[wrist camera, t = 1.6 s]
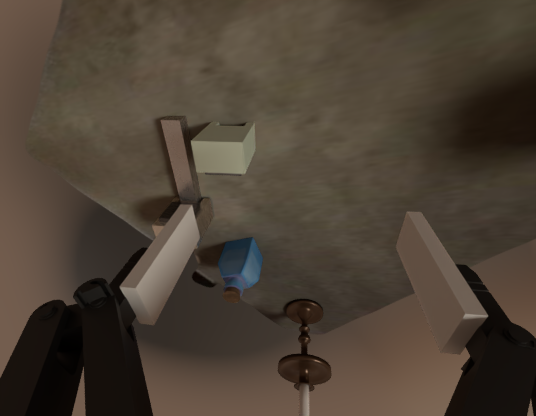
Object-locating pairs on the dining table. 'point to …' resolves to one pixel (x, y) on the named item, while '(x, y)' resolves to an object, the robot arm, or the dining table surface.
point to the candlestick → (304, 354)
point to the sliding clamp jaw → (224, 149)
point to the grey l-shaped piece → (183, 176)
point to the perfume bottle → (239, 267)
